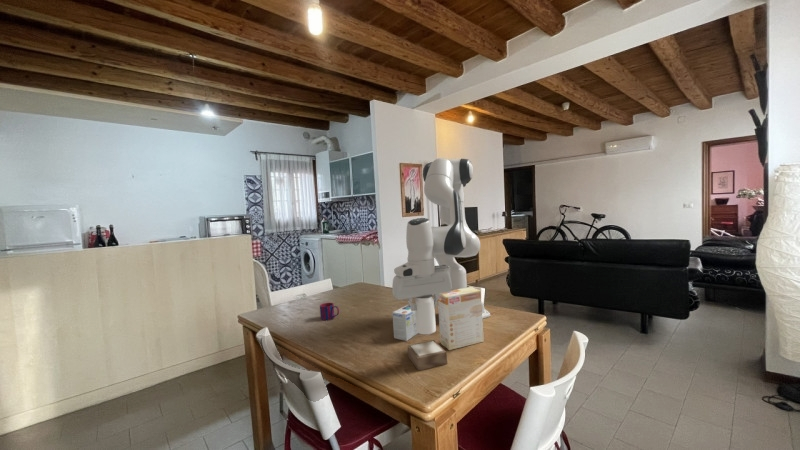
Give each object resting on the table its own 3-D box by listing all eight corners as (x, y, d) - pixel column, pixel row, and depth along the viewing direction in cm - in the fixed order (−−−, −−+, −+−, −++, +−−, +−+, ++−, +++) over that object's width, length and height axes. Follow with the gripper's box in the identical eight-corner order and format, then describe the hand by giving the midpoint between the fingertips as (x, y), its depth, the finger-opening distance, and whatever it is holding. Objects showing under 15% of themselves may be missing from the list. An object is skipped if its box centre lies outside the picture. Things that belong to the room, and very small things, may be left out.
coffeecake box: (473, 335, 121) (470, 286, 120) (484, 342, 114) (481, 290, 113) (439, 343, 116) (436, 292, 115) (449, 350, 109) (445, 296, 108)
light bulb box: (408, 328, 132) (406, 304, 131) (421, 331, 128) (419, 306, 127) (393, 338, 123) (391, 311, 123) (407, 341, 119) (405, 314, 119)
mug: (327, 315, 157) (326, 302, 156) (342, 317, 152) (341, 303, 152) (317, 319, 151) (316, 306, 151) (333, 322, 146) (332, 308, 146)
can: (435, 335, 99) (432, 298, 99) (415, 335, 100) (412, 298, 100) (437, 328, 105) (434, 293, 105) (418, 328, 106) (415, 293, 106)
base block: (434, 351, 110) (433, 339, 109) (447, 363, 100) (446, 351, 100) (408, 356, 107) (407, 344, 106) (418, 370, 97) (417, 357, 97)
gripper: (445, 262, 108) (447, 301, 109) (389, 269, 102) (392, 310, 102) (454, 265, 102) (456, 306, 103) (395, 272, 96) (397, 316, 96)
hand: (423, 308), depth 102 cm, fingers closed on can, 6 cm apart
